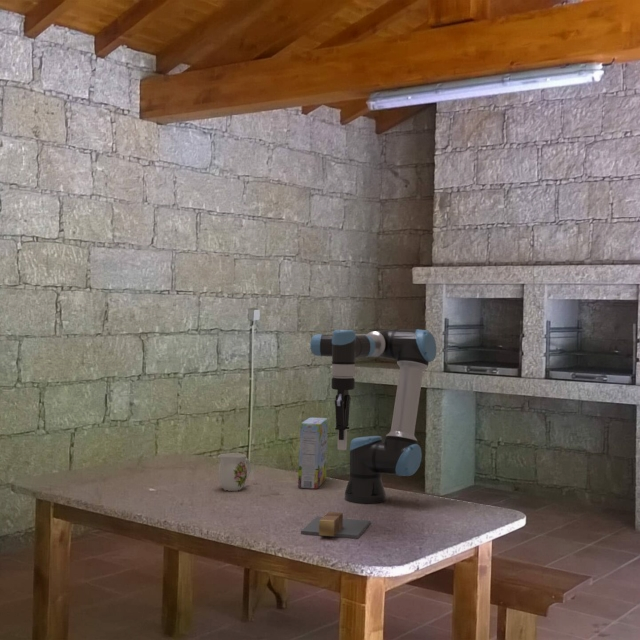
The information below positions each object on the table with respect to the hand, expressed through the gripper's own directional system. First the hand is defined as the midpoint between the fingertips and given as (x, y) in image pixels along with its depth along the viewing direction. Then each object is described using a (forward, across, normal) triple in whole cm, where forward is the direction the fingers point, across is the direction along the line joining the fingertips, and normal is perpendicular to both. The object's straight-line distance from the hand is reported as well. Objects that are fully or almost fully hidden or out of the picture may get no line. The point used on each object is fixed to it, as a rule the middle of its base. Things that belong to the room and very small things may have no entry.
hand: (342, 449), depth 281 cm
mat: (+24, +5, 0) cm, 25 cm away
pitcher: (+25, -42, -52) cm, 71 cm away
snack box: (+25, -62, -26) cm, 71 cm away
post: (+21, +7, 0) cm, 22 cm away
